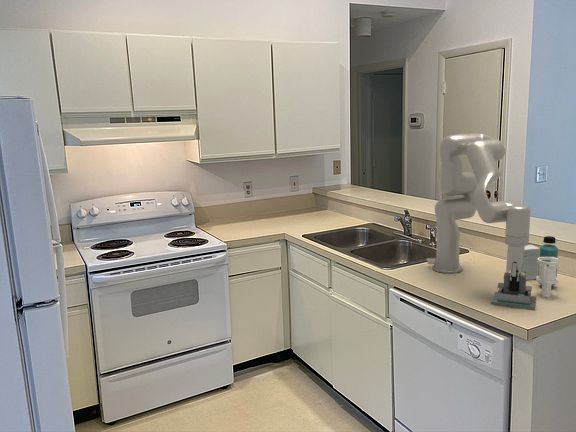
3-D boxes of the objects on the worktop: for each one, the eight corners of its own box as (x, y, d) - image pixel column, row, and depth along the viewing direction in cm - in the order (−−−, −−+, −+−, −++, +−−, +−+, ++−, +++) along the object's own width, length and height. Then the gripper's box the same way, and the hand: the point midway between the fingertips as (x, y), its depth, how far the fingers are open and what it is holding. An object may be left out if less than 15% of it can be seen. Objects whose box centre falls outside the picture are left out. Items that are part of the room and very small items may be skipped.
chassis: (491, 304, 175) (491, 292, 174) (494, 294, 185) (495, 282, 184) (534, 310, 169) (535, 297, 168) (536, 299, 178) (537, 287, 177)
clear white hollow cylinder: (550, 300, 176) (553, 260, 174) (531, 295, 182) (533, 256, 179) (560, 295, 181) (563, 256, 178) (541, 290, 186) (543, 252, 183)
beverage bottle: (558, 286, 190) (561, 236, 186) (553, 291, 185) (557, 239, 181) (540, 282, 194) (543, 233, 190) (535, 287, 190) (537, 237, 186)
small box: (530, 274, 205) (531, 244, 202) (539, 279, 199) (541, 248, 196) (511, 275, 204) (513, 245, 202) (520, 280, 198) (521, 249, 195)
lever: (497, 296, 177) (498, 272, 175) (498, 292, 181) (499, 269, 179) (530, 300, 172) (532, 275, 170) (531, 296, 175) (532, 272, 174)
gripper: (507, 233, 181) (505, 280, 185) (502, 244, 167) (500, 295, 170) (530, 235, 178) (527, 283, 181) (527, 246, 163) (524, 298, 167)
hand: (514, 288), depth 176 cm, fingers closed on lever, 4 cm apart
